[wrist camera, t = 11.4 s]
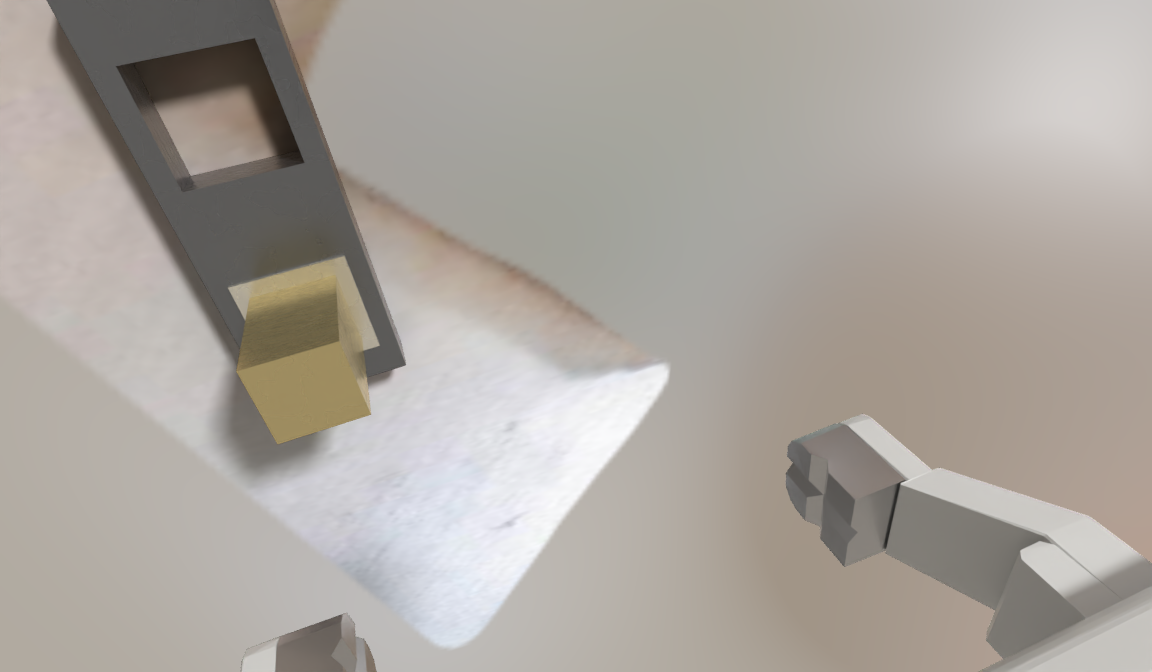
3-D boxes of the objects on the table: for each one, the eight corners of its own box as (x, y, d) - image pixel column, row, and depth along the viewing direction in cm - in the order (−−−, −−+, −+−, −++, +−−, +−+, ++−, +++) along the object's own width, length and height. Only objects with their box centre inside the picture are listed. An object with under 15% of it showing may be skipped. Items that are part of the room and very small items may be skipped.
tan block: (249, 298, 34) (236, 371, 28) (335, 274, 34) (339, 341, 29) (283, 365, 36) (277, 444, 31) (362, 341, 37) (371, 414, 31)
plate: (60, -17, 27) (37, -12, 25) (255, -51, 28) (250, -50, 26) (274, 382, 39) (271, 409, 37) (401, 344, 41) (406, 366, 39)
